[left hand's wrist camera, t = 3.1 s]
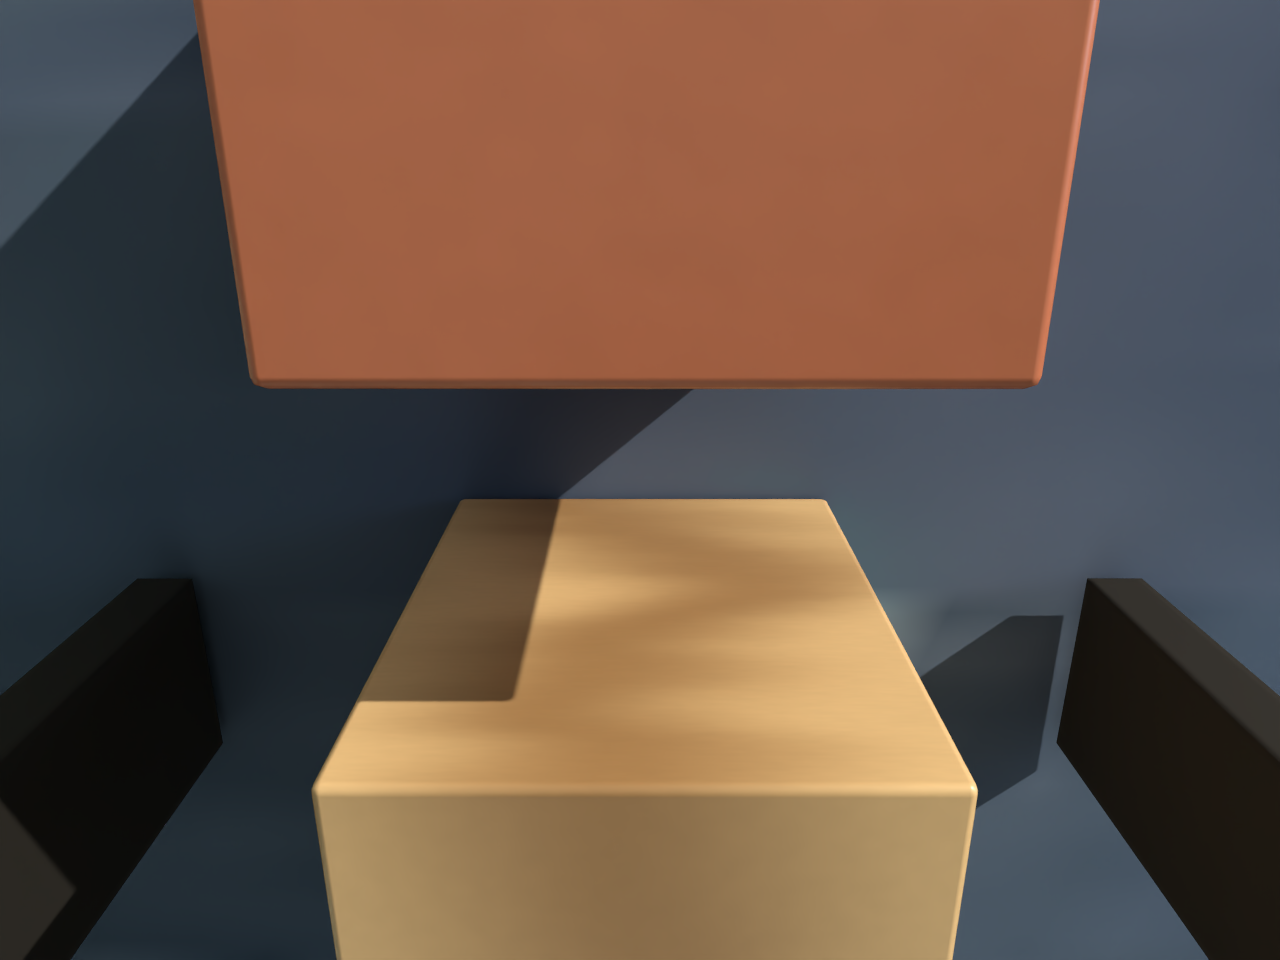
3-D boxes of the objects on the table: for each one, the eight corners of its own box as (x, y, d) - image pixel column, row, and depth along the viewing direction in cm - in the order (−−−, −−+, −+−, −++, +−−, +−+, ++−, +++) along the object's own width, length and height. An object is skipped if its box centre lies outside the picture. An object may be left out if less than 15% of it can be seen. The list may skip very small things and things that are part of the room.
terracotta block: (879, -209, 10) (1221, -725, 4) (844, 272, 11) (1045, 393, 6) (408, -207, 10) (73, -724, 4) (443, 272, 11) (246, 391, 6)
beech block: (826, 496, 12) (983, 789, 7) (804, 797, 14) (913, 1234, 8) (459, 496, 12) (305, 787, 7) (482, 797, 14) (374, 1232, 8)
